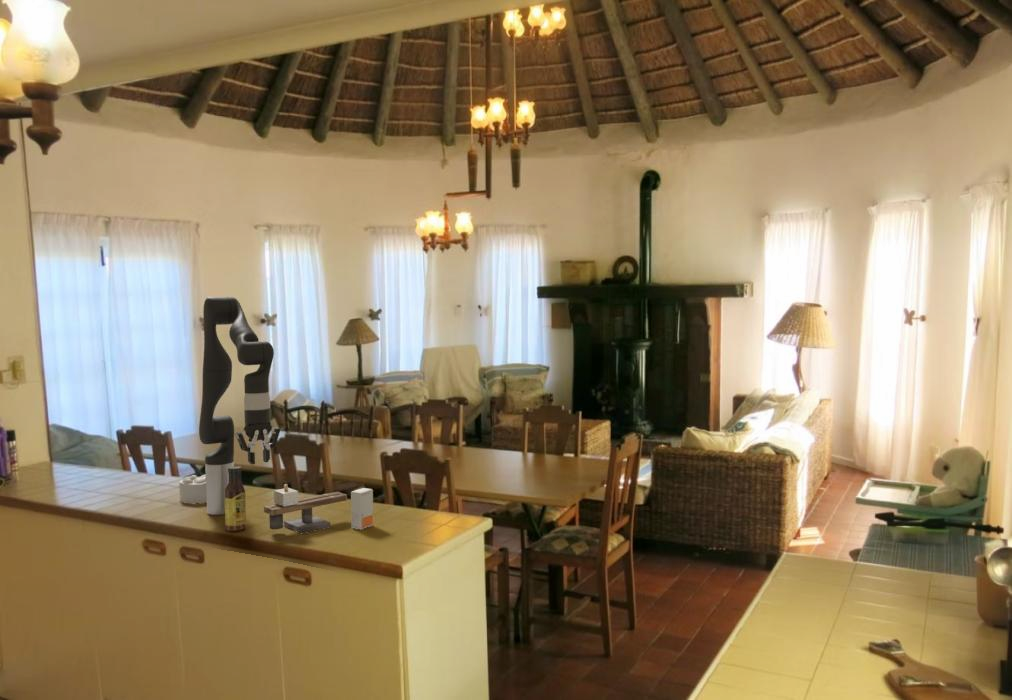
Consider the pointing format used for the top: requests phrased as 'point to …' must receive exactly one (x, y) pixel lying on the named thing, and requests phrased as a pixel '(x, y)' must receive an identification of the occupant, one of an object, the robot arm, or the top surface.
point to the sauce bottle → (235, 501)
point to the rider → (286, 496)
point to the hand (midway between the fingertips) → (259, 462)
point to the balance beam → (303, 513)
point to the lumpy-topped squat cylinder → (193, 489)
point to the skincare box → (362, 508)
